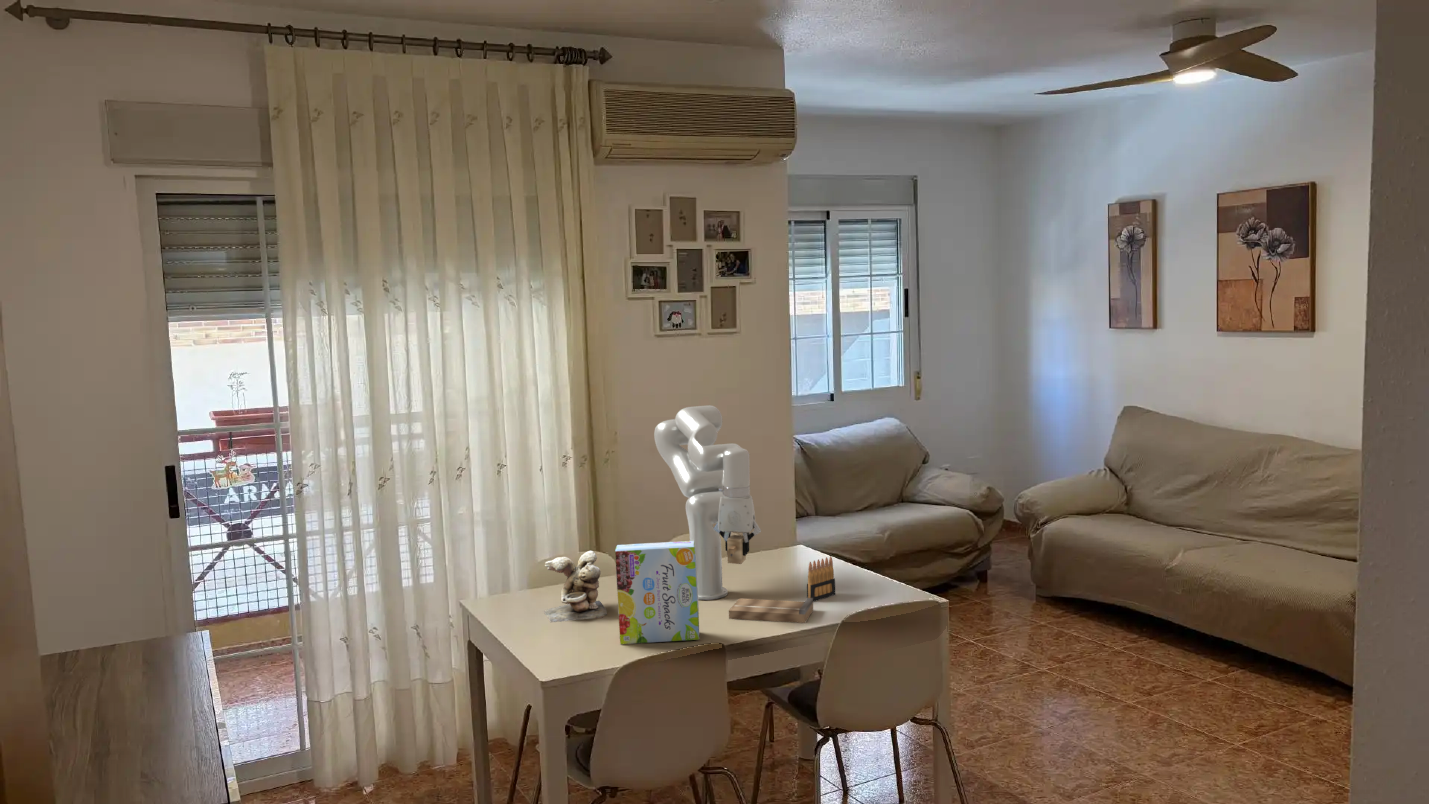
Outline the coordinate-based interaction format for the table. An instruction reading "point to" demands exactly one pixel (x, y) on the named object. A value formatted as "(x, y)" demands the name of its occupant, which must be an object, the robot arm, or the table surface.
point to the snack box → (657, 592)
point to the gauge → (735, 549)
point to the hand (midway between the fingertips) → (737, 553)
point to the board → (772, 610)
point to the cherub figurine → (577, 589)
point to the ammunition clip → (821, 580)
